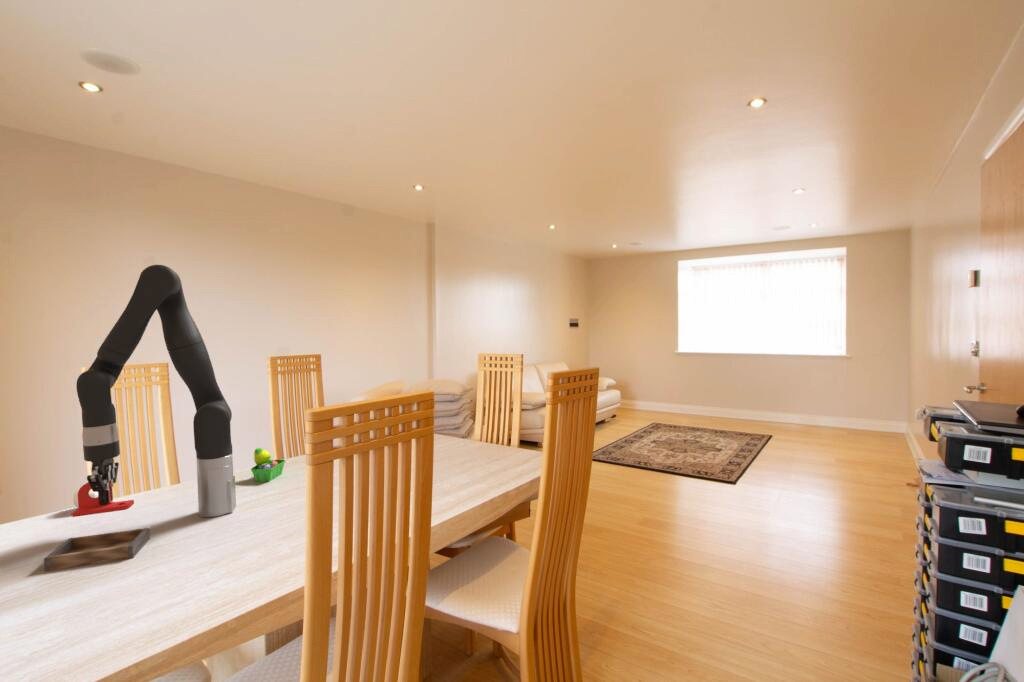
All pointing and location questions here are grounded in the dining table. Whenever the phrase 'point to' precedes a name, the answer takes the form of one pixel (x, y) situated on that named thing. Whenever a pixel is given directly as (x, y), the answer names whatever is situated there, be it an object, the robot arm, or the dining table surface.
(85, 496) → the bracket
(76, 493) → the geometric ball
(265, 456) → the fruit basket
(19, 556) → the dining table surface
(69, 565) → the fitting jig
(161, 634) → the dining table surface
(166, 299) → the robot arm
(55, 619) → the dining table surface
